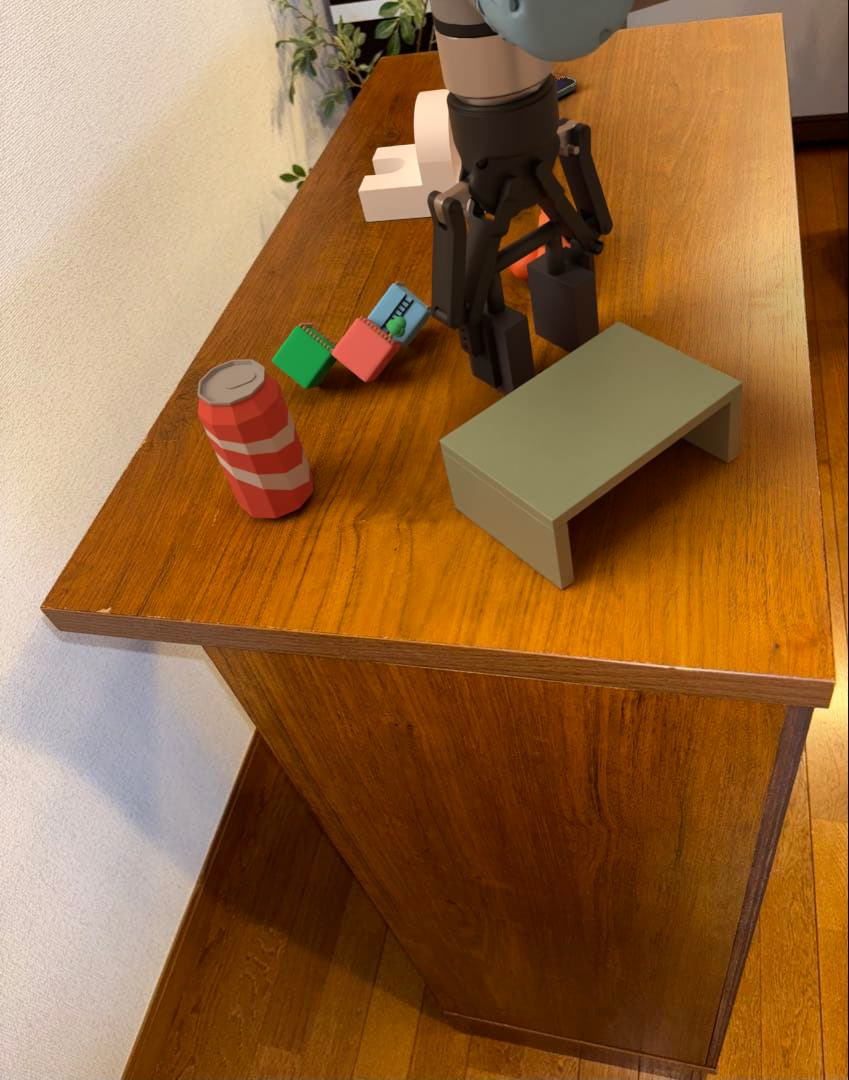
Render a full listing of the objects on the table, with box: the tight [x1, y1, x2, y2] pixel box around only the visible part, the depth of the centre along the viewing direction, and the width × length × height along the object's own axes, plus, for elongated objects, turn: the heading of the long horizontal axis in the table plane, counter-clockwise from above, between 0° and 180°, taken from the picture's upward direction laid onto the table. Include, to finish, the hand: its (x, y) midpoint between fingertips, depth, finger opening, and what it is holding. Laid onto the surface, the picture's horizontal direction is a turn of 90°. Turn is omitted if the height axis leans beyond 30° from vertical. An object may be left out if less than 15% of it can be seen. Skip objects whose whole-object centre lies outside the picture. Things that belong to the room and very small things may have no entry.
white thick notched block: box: [358, 88, 526, 223], centre depth 105 cm, size 18×10×11 cm, turn 79°
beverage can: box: [197, 358, 314, 519], centre depth 76 cm, size 6×6×12 cm
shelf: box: [439, 320, 743, 591], centre depth 72 cm, size 12×18×7 cm, turn 128°
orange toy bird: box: [508, 208, 571, 280], centre depth 93 cm, size 5×8×12 cm
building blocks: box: [271, 280, 432, 390], centre depth 88 cm, size 8×8×12 cm
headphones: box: [467, 220, 600, 396], centre depth 79 cm, size 6×10×11 cm, turn 128°
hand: (535, 349), depth 82 cm, fingers closed on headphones, 10 cm apart
